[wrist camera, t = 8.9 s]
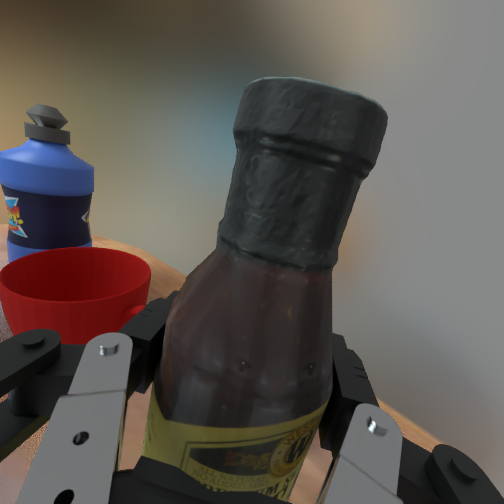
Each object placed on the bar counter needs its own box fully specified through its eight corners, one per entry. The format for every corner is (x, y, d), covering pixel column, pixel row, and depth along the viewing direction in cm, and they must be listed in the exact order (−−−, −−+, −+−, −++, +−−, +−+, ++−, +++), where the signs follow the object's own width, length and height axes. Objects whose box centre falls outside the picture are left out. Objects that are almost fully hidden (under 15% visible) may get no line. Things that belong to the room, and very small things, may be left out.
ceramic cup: (96, 445, 21) (98, 345, 17) (-23, 355, 26) (-37, 265, 23) (191, 353, 32) (203, 282, 29) (96, 303, 37) (97, 239, 34)
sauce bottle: (143, 723, 8) (301, -52, 2) (114, 511, 13) (143, 66, 7) (286, 572, 12) (483, 131, 6) (224, 450, 17) (304, 129, 11)
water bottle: (82, 276, 43) (82, 116, 36) (101, 303, 38) (105, 119, 30) (7, 287, 37) (-14, 92, 29) (16, 321, 31) (-7, 90, 23)
